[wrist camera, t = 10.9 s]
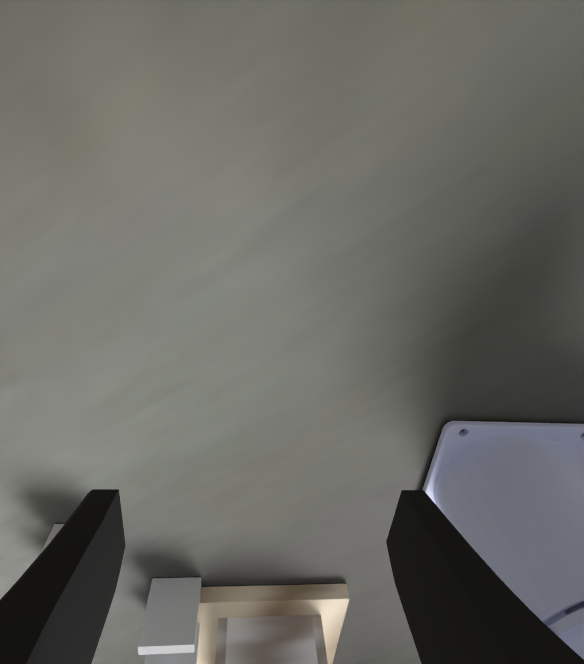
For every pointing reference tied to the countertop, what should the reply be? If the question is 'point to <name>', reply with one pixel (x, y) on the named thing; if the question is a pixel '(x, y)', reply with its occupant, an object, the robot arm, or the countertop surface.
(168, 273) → the countertop surface
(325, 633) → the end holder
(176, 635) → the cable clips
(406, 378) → the countertop surface
